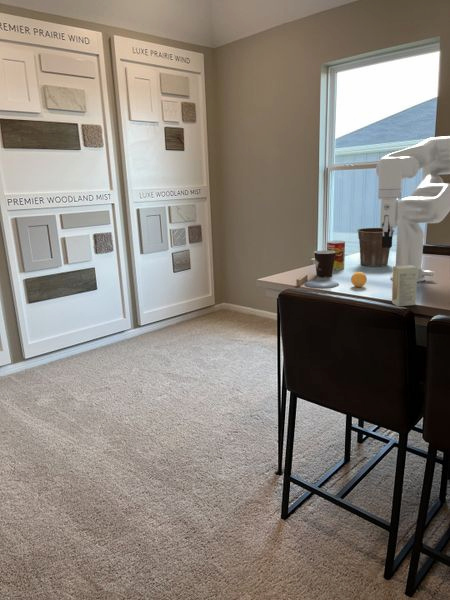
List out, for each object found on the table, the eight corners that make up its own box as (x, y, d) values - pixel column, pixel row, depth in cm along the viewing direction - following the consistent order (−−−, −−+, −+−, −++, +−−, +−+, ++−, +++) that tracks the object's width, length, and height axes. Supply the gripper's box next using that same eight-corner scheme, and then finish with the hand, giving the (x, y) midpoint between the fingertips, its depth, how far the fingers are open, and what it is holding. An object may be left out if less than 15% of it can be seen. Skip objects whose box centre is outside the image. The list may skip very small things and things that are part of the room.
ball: (367, 285, 169) (368, 271, 168) (365, 288, 164) (365, 273, 163) (352, 284, 172) (352, 270, 170) (349, 287, 167) (349, 273, 166)
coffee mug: (335, 277, 185) (335, 253, 182) (313, 277, 187) (314, 253, 184) (334, 272, 196) (334, 249, 193) (314, 272, 198) (314, 249, 195)
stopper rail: (307, 280, 182) (307, 274, 181) (300, 286, 173) (300, 279, 172) (304, 280, 182) (304, 274, 182) (296, 285, 174) (296, 279, 173)
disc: (342, 281, 177) (342, 281, 177) (334, 289, 166) (334, 288, 166) (309, 279, 183) (309, 279, 183) (300, 286, 172) (300, 286, 171)
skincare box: (410, 302, 145) (412, 264, 142) (416, 305, 141) (418, 267, 138) (390, 302, 145) (392, 265, 142) (395, 306, 141) (398, 268, 138)
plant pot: (395, 267, 200) (397, 231, 196) (358, 268, 203) (359, 232, 199) (388, 261, 216) (390, 227, 212) (354, 261, 218) (355, 228, 214)
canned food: (324, 267, 208) (324, 241, 205) (340, 266, 209) (341, 240, 206) (329, 270, 201) (330, 243, 198) (346, 269, 201) (347, 242, 198)
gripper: (398, 195, 147) (395, 250, 152) (403, 193, 160) (400, 244, 165) (374, 195, 151) (372, 250, 155) (381, 194, 164) (378, 244, 168)
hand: (386, 247), depth 160 cm, fingers closed
